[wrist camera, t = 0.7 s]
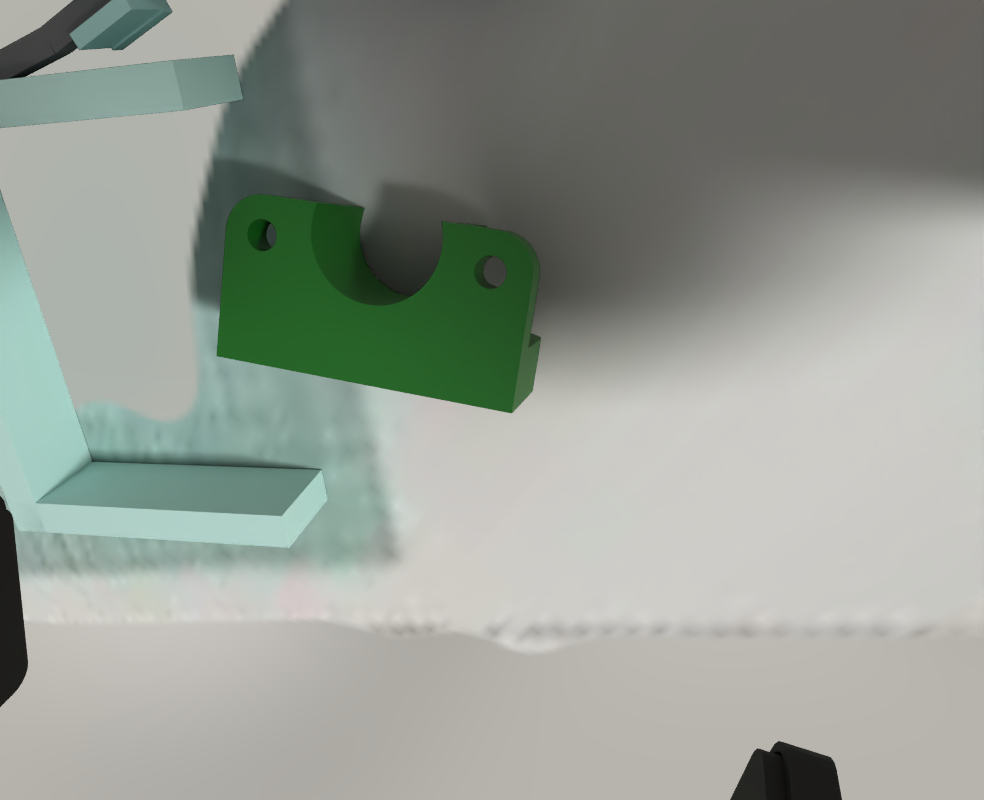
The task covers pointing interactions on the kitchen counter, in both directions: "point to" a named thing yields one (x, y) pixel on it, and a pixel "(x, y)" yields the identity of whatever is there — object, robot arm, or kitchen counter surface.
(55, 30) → the cable
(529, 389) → the clamp
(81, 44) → the clip
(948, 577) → the kitchen counter surface
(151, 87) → the end holder
